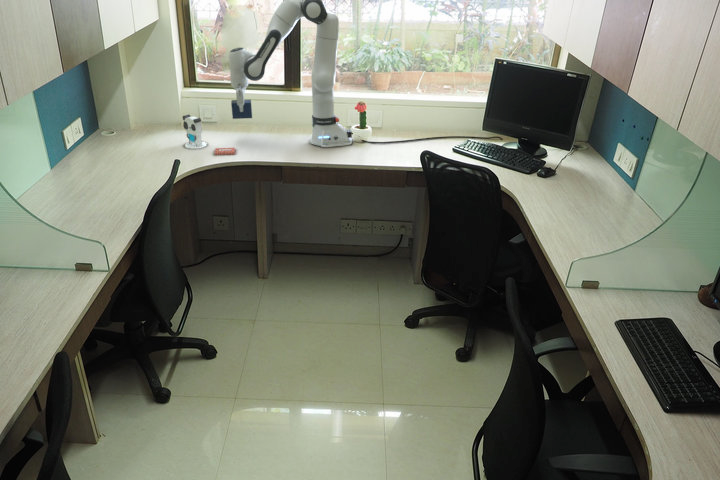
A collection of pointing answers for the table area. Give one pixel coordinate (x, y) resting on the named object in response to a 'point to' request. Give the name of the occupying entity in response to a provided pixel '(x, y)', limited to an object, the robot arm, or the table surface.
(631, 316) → the table surface
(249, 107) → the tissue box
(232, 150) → the tissue packet
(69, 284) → the table surface
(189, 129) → the panda figurine
